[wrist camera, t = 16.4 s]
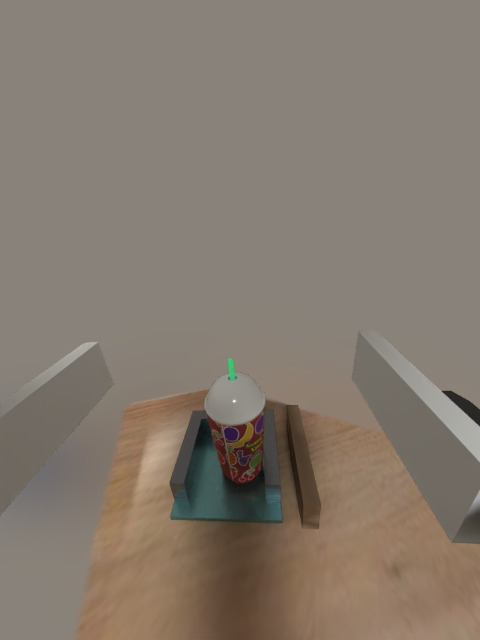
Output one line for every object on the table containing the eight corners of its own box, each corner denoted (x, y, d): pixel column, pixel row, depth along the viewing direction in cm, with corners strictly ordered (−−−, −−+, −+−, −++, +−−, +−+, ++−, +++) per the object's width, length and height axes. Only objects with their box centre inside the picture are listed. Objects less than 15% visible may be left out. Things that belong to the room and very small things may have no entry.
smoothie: (265, 499, 32) (258, 384, 24) (208, 488, 34) (185, 378, 26) (271, 446, 39) (267, 344, 32) (224, 439, 41) (210, 342, 33)
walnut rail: (297, 425, 44) (297, 405, 42) (318, 528, 29) (320, 505, 27) (286, 425, 44) (286, 405, 42) (302, 528, 29) (303, 504, 27)
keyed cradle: (273, 427, 44) (273, 409, 42) (282, 522, 30) (282, 502, 28) (196, 428, 45) (193, 410, 43) (170, 519, 31) (163, 499, 29)
